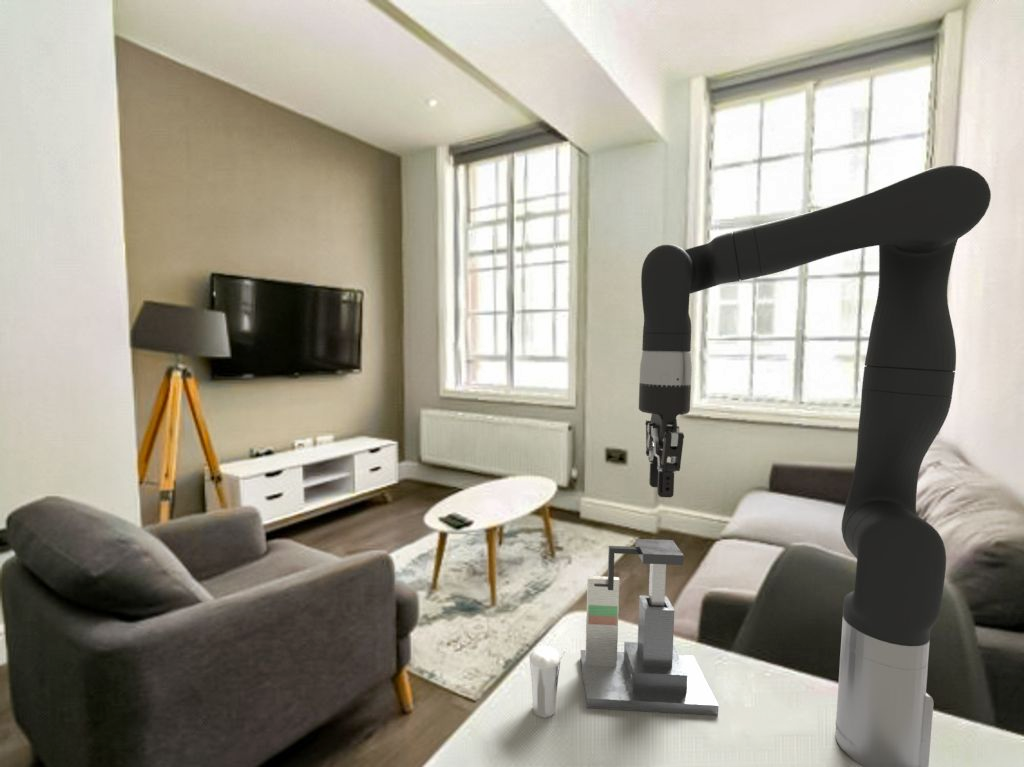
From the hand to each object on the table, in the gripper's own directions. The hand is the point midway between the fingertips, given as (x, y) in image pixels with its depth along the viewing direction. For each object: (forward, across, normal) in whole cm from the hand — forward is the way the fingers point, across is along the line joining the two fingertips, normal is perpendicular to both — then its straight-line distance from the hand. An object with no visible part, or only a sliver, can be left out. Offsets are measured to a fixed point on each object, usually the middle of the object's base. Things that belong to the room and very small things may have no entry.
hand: (660, 490), depth 78 cm
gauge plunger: (+20, 0, +2) cm, 20 cm away
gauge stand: (+31, 0, +2) cm, 31 cm away
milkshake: (+32, -7, +17) cm, 37 cm away
